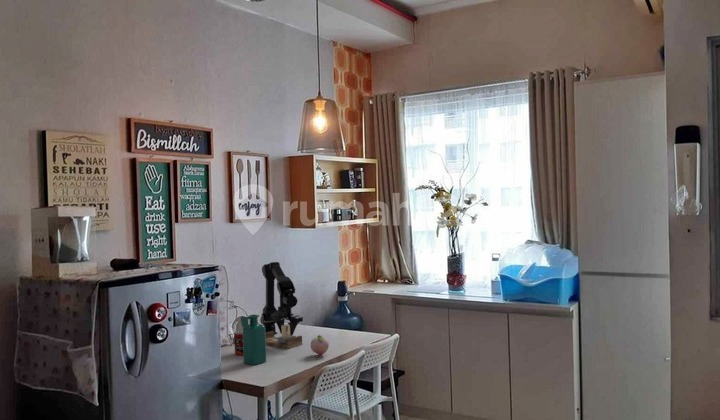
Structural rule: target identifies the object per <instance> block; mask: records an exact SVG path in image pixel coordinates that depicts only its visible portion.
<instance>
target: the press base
mask: <svg viewBox="0 0 720 420" xmlns="http://www.w3.org/2000/svg"><path fill="white" fill-rule="evenodd" d="M265 336H266V346H270V347H275V348H282V349H286V350H289V349H292V348H296V347H299V346H302V345H303V335H298V336H297V335H296V337H293V338H290V339H286V344H285V343H280V342H278V337H276V336H275V334H274V331H271V332H267V333H265Z"/></svg>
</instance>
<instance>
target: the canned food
mask: <svg viewBox="0 0 720 420" xmlns="http://www.w3.org/2000/svg"><path fill="white" fill-rule="evenodd" d="M233 333H234V334H233V342H234V354H235V355H236V356H239V357H240V356H243V357H244V352H243V329H237V330H235V331H234V332H233Z"/></svg>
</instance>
